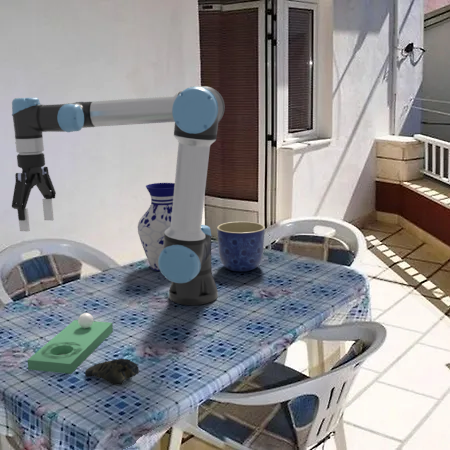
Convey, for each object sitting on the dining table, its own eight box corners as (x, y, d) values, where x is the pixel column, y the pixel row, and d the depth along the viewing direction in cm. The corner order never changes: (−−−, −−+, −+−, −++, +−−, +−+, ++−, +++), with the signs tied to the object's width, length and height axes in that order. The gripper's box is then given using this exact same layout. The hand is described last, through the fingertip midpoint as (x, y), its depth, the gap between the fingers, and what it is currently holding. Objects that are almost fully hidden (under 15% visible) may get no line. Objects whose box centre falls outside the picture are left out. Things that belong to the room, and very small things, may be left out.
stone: (94, 368, 146) (92, 348, 145) (145, 375, 142) (143, 354, 141) (79, 382, 140) (77, 360, 139) (131, 389, 136) (130, 367, 135)
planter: (266, 275, 212) (266, 232, 209) (216, 275, 213) (216, 233, 209) (263, 261, 229) (263, 221, 225) (218, 261, 229) (217, 221, 225)
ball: (96, 325, 165) (95, 311, 164) (90, 331, 161) (89, 317, 160) (82, 324, 165) (81, 310, 164) (76, 330, 162) (75, 315, 161)
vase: (198, 261, 229) (196, 181, 222) (183, 277, 211) (180, 191, 204) (150, 258, 234) (146, 180, 227) (131, 273, 216) (127, 189, 209)
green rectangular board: (75, 328, 169) (74, 319, 169) (112, 331, 167) (112, 322, 166) (28, 369, 145) (27, 359, 145) (71, 373, 143) (70, 364, 142)
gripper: (40, 148, 188) (47, 215, 193) (-7, 158, 164) (1, 235, 169) (63, 148, 186) (69, 216, 191) (18, 158, 162) (26, 236, 167)
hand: (37, 225), depth 180 cm, fingers open, 13 cm apart
